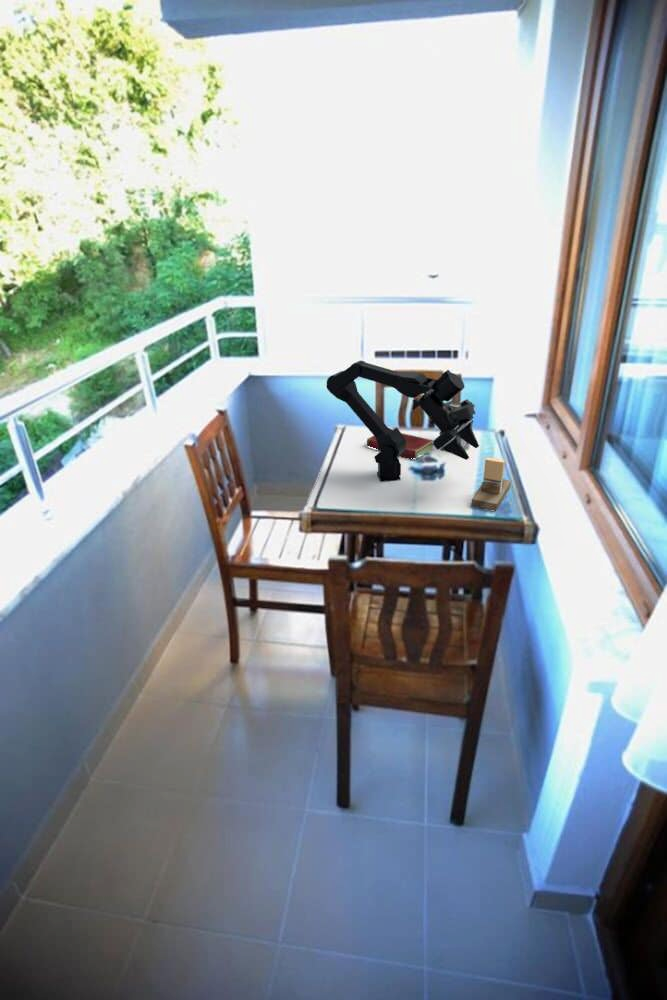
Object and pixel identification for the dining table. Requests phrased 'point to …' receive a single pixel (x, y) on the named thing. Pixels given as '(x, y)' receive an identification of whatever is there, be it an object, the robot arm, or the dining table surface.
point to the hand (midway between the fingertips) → (472, 452)
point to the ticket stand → (490, 494)
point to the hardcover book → (409, 445)
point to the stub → (494, 469)
